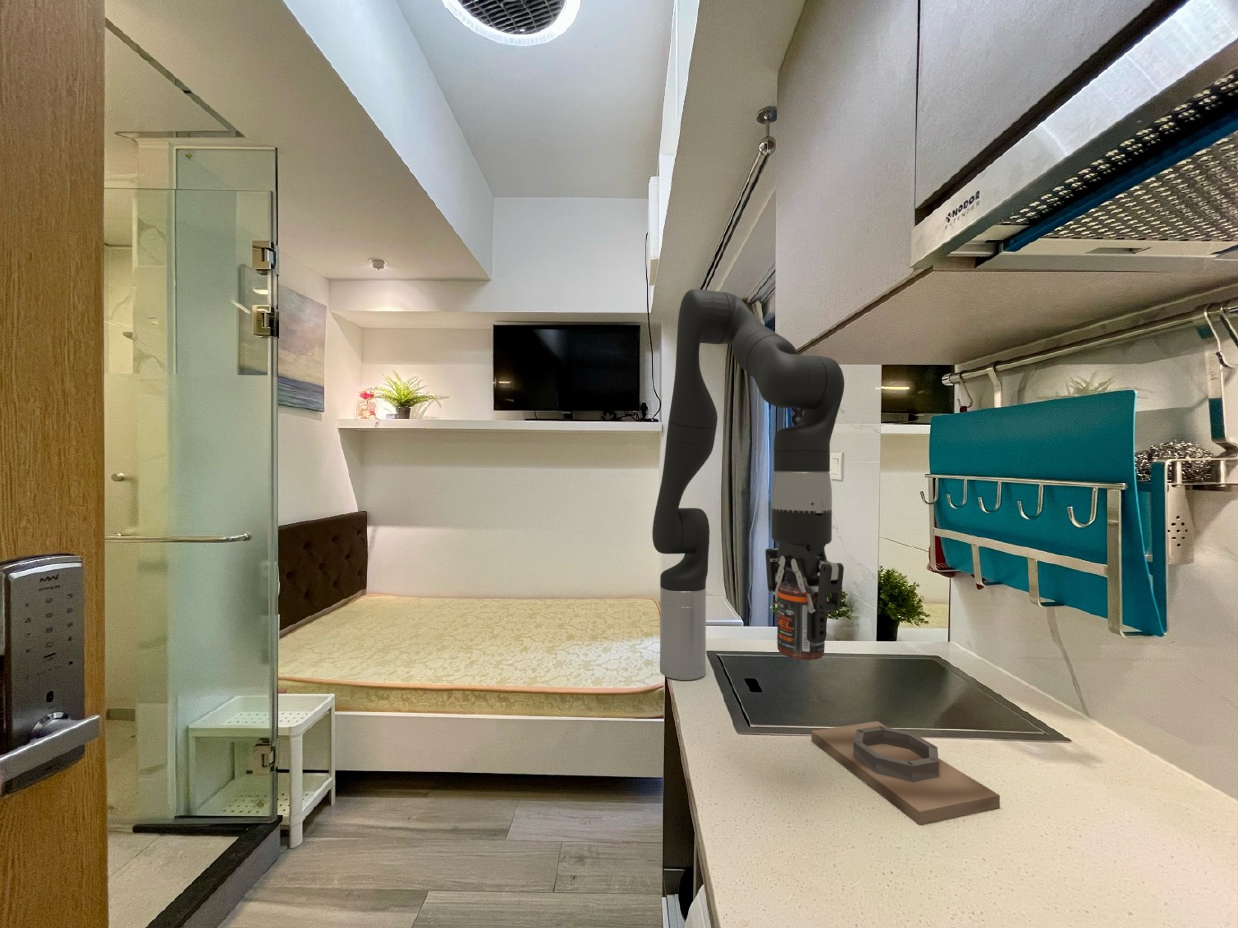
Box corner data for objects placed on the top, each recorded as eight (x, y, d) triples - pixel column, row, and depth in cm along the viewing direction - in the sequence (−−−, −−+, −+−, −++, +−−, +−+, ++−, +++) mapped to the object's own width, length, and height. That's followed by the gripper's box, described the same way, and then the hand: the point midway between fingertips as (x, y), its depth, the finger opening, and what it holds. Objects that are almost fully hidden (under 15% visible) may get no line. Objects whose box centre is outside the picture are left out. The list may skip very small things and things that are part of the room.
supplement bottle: (767, 649, 72) (767, 564, 72) (803, 644, 74) (803, 562, 74) (797, 664, 66) (797, 573, 66) (835, 658, 68) (835, 570, 68)
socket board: (811, 740, 80) (811, 717, 80) (877, 730, 84) (877, 708, 84) (919, 824, 61) (919, 793, 61) (999, 807, 64) (999, 778, 64)
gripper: (748, 503, 76) (747, 621, 76) (810, 510, 62) (809, 654, 62) (793, 502, 78) (793, 617, 78) (864, 509, 64) (863, 649, 64)
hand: (800, 633), depth 70 cm, fingers closed on supplement bottle, 6 cm apart
